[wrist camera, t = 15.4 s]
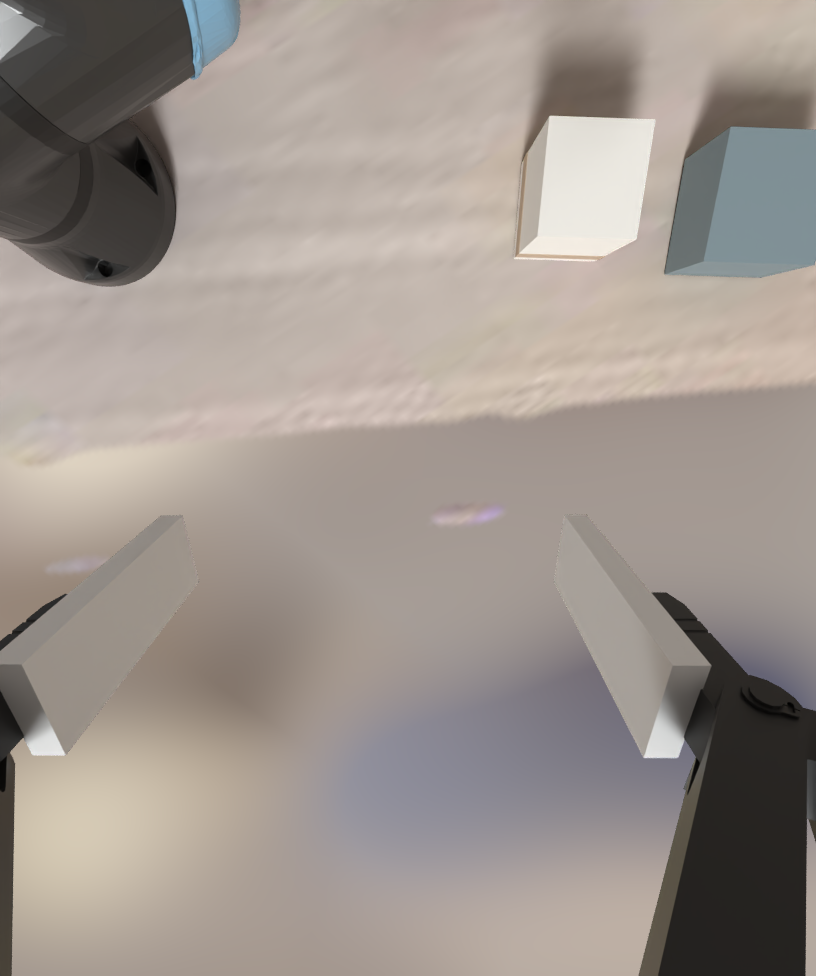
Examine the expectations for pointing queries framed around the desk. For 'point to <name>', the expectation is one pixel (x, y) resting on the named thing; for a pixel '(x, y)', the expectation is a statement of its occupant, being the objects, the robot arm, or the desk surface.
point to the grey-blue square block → (747, 205)
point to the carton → (582, 188)
